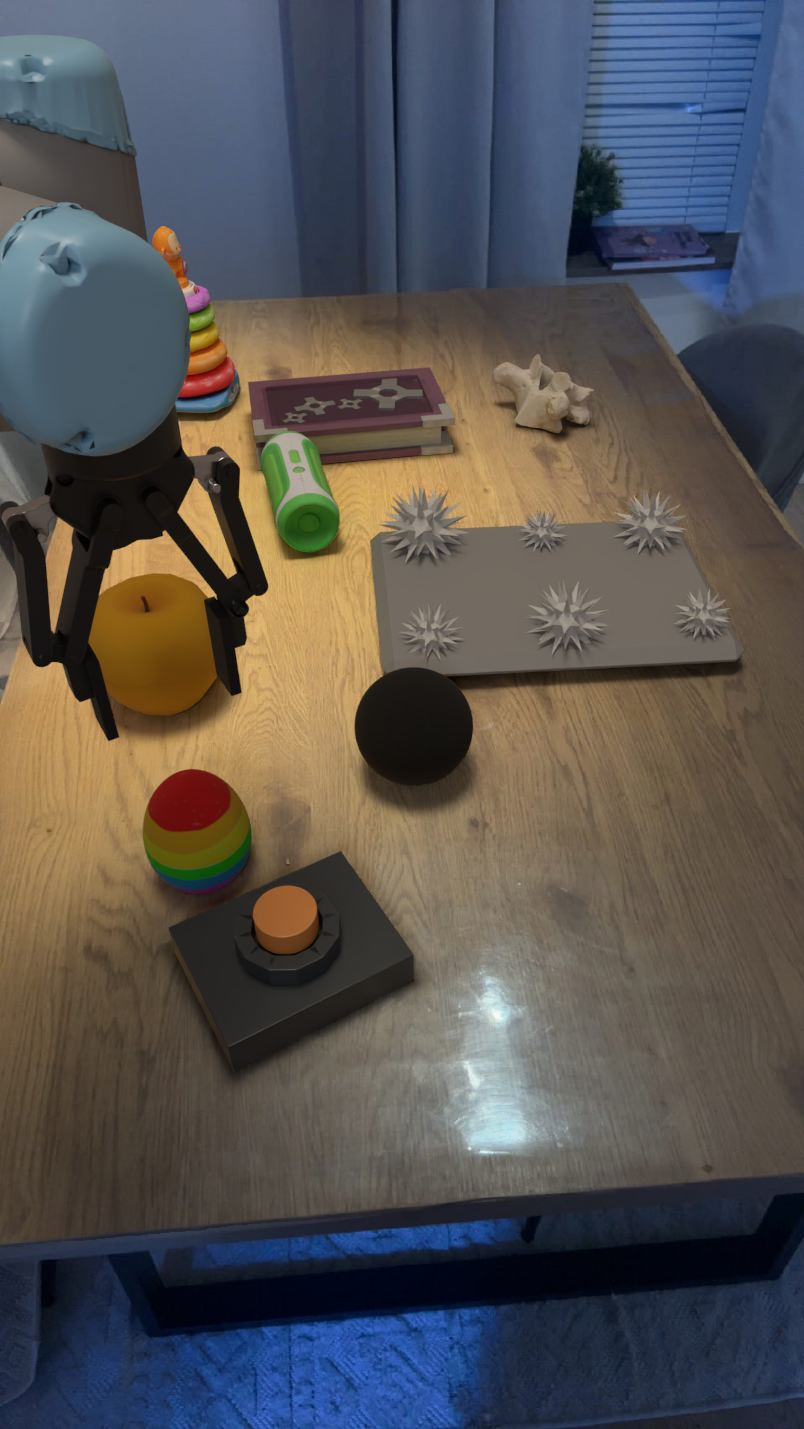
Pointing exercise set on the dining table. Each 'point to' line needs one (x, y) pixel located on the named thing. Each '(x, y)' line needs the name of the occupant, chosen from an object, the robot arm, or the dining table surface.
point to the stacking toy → (199, 340)
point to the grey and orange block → (291, 963)
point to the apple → (154, 643)
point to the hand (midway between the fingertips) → (169, 704)
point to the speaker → (299, 492)
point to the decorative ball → (413, 726)
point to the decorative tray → (543, 594)
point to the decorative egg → (196, 832)
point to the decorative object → (543, 395)
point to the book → (356, 414)
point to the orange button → (286, 920)
